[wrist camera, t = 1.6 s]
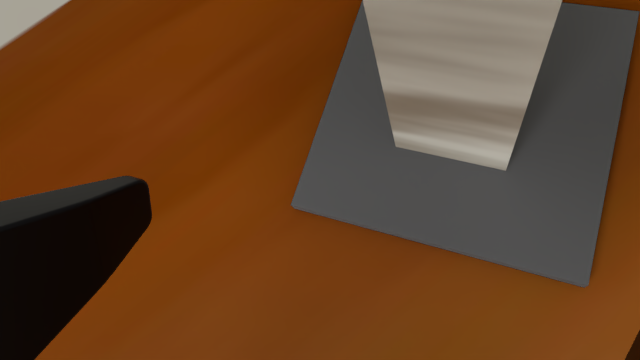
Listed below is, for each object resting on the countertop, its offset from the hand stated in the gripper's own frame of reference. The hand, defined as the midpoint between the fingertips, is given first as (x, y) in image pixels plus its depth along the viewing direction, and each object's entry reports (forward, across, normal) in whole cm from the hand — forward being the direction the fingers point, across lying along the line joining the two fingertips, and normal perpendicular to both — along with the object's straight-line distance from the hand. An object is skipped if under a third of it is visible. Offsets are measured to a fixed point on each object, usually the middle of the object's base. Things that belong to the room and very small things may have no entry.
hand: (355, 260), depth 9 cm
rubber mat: (+17, 0, +3) cm, 17 cm away
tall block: (+16, 0, +3) cm, 17 cm away
